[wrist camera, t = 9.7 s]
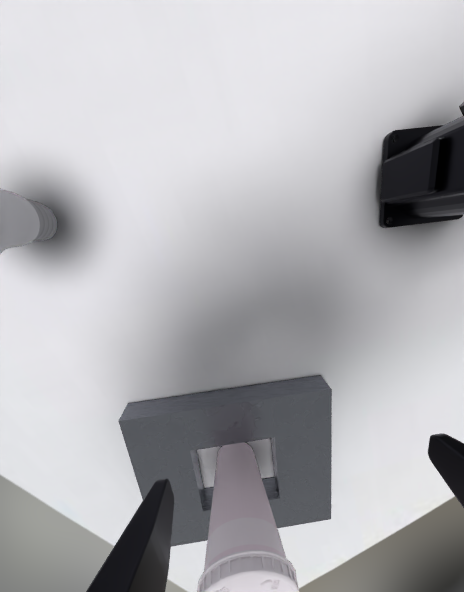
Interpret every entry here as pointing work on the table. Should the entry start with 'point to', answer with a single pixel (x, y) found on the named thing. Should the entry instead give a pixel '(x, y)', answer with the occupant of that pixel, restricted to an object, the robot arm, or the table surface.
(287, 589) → the smoothie
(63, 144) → the table surface
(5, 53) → the table surface
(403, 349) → the table surface
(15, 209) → the lightbulb
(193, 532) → the square plate with hole
